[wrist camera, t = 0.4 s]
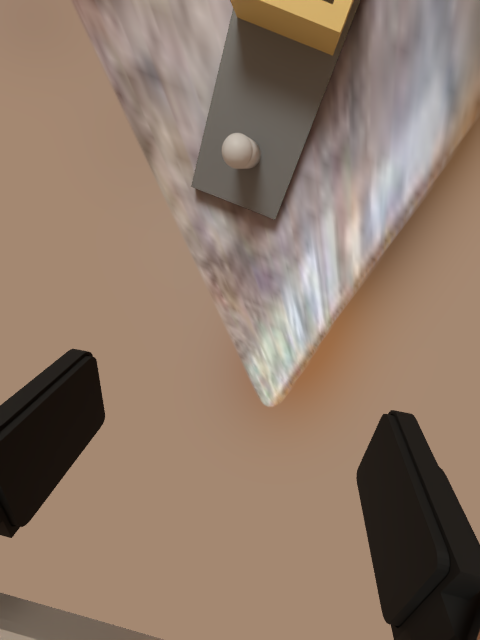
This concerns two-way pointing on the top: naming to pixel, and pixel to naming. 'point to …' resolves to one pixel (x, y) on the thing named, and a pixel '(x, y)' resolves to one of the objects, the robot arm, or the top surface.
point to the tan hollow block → (298, 19)
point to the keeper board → (261, 114)
